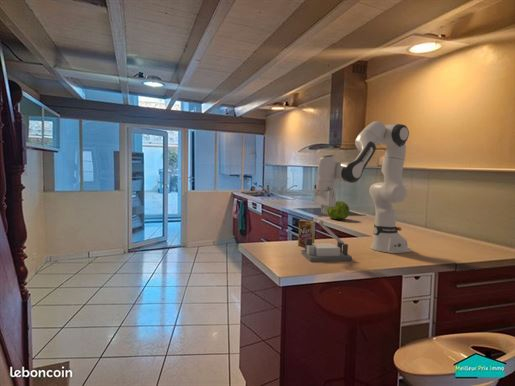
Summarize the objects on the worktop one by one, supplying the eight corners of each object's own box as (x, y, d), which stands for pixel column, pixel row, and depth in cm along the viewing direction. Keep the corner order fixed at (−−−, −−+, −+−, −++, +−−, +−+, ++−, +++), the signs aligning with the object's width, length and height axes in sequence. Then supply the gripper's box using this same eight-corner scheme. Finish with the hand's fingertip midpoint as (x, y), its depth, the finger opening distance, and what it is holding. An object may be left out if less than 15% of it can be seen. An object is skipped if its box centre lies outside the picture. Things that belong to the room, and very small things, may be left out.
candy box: (297, 245, 189) (298, 220, 187) (300, 244, 192) (301, 219, 191) (311, 248, 184) (312, 222, 182) (314, 246, 187) (315, 221, 186)
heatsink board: (339, 253, 175) (340, 236, 174) (351, 260, 161) (352, 242, 160) (301, 253, 171) (302, 237, 170) (310, 261, 157) (311, 243, 156)
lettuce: (335, 217, 308) (331, 200, 308) (354, 217, 289) (350, 198, 288) (322, 222, 299) (319, 204, 298) (341, 222, 279) (337, 203, 278)
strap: (339, 242, 169) (341, 240, 169) (342, 244, 165) (345, 242, 165) (315, 221, 165) (318, 218, 166) (318, 222, 161) (320, 220, 162)
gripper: (339, 188, 153) (338, 216, 154) (323, 185, 173) (322, 211, 174) (327, 187, 152) (325, 216, 153) (312, 185, 172) (311, 210, 173)
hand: (323, 213), depth 164 cm, fingers closed
